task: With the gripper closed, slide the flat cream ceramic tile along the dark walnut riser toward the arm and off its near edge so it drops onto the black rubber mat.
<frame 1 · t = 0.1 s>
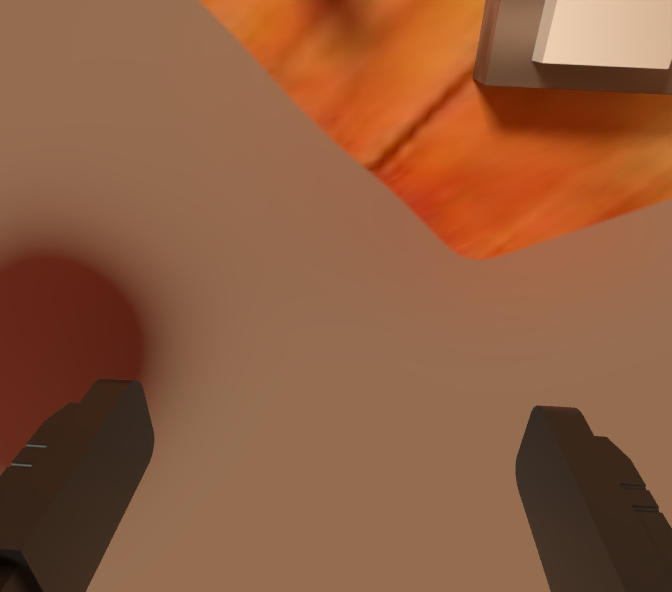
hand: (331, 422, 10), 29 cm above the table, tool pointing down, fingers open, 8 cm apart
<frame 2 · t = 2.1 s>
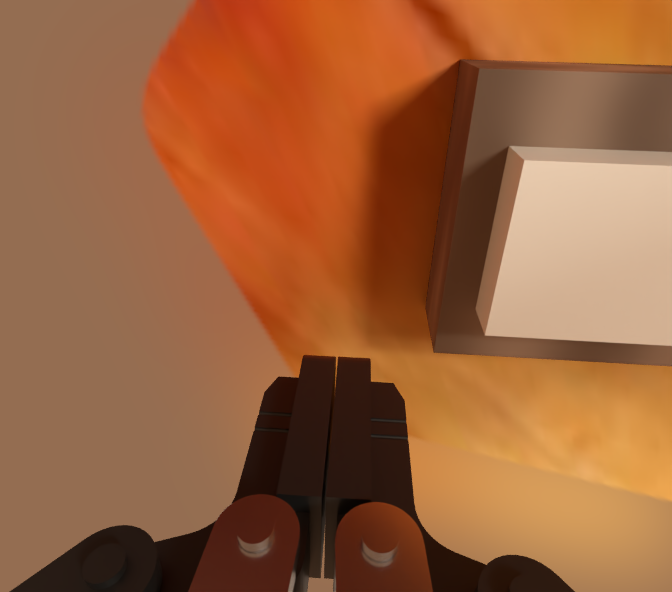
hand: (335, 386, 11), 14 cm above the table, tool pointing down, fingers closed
tile: (605, 240, 19), point 4 cm above the table, touching riser
riser: (590, 206, 22), on the table
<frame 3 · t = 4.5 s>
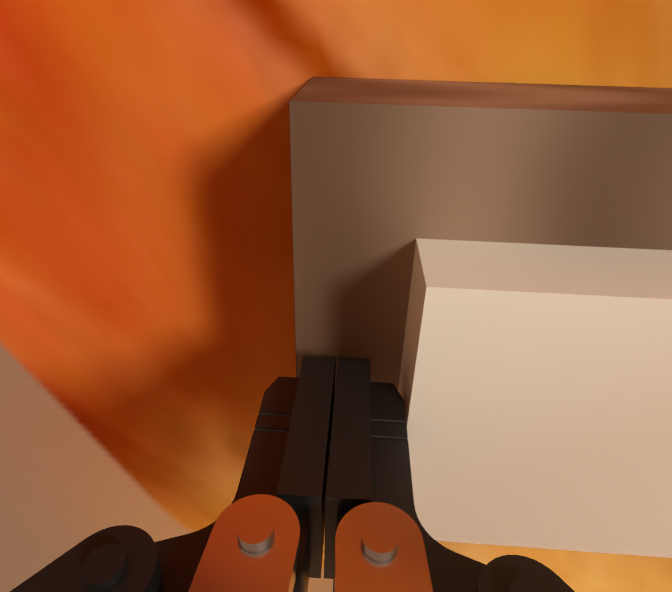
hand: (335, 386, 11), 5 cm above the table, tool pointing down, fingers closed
tile: (590, 383, 11), point 4 cm above the table, touching gripper, riser
riser: (537, 296, 15), on the table
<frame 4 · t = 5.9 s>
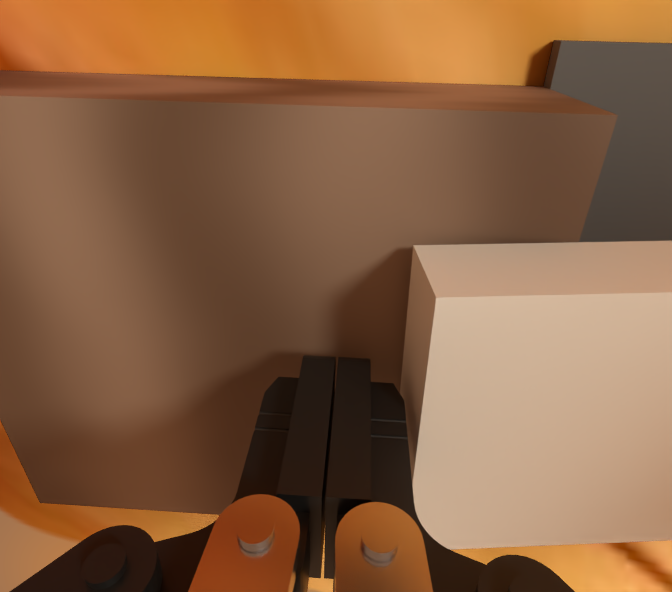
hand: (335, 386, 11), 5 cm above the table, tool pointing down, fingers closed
mat: (660, 303, 14), on the table
tile: (588, 376, 11), point 4 cm above the table, tilted 6°, touching gripper, riser
riser: (273, 285, 15), on the table
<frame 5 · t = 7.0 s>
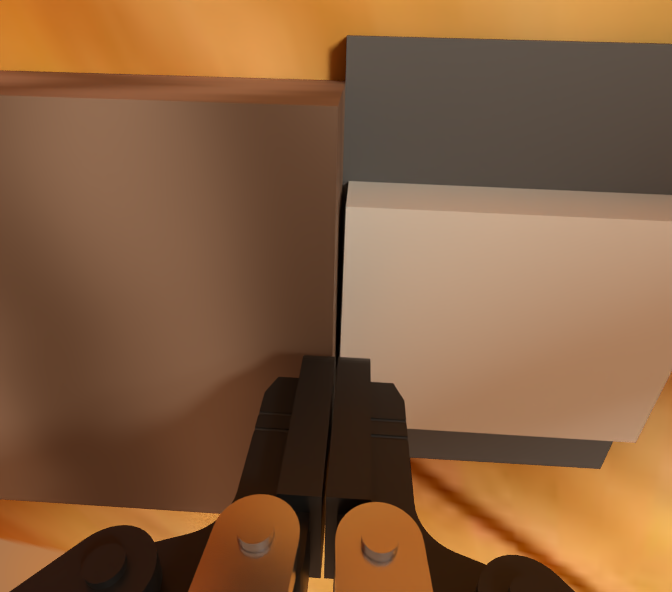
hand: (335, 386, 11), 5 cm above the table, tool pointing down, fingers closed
mat: (499, 295, 15), on the table
tile: (492, 301, 14), resting on mat
riser: (123, 277, 15), on the table
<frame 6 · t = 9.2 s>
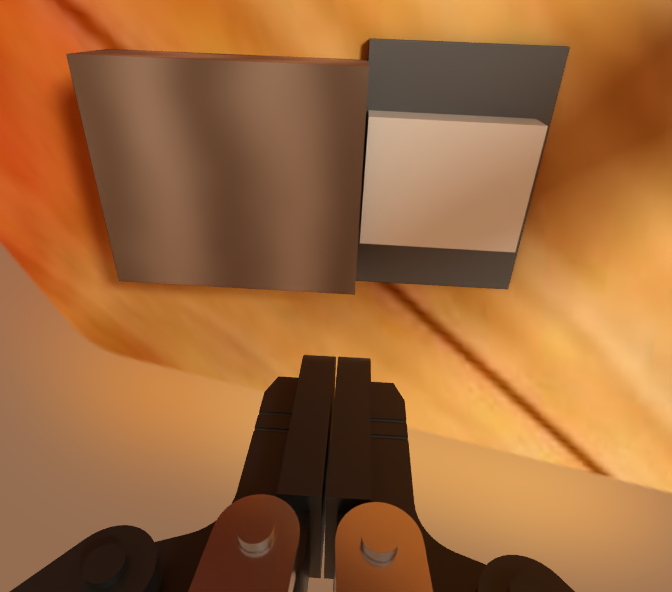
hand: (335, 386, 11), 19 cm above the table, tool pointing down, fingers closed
mat: (446, 177, 28), on the table
tile: (441, 178, 27), resting on mat
riser: (244, 167, 28), on the table
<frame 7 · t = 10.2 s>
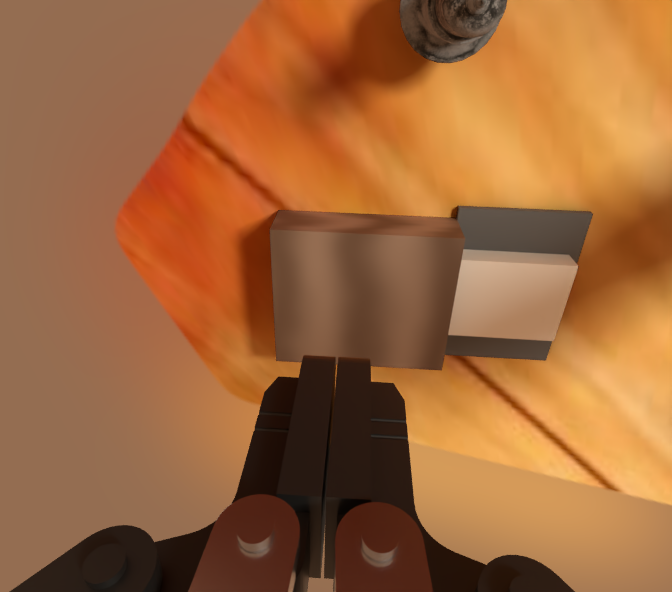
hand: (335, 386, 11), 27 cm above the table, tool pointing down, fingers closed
mat: (504, 287, 40), on the table
tile: (502, 289, 39), resting on mat
riser: (362, 280, 40), on the table
salt shaker: (442, 7, 30), on the table
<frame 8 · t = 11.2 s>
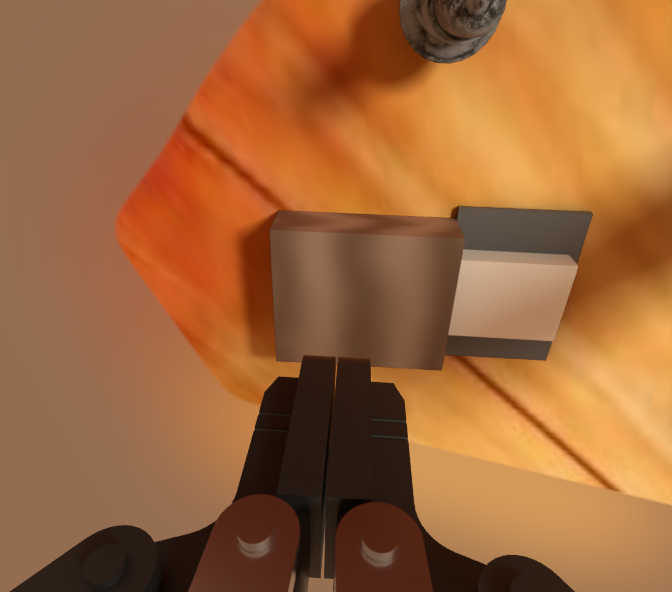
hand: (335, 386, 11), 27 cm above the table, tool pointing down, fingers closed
mat: (504, 288, 40), on the table
tile: (502, 289, 39), resting on mat
riser: (362, 280, 40), on the table
salt shaker: (442, 7, 30), on the table
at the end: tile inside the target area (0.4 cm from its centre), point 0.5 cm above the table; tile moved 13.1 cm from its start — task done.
